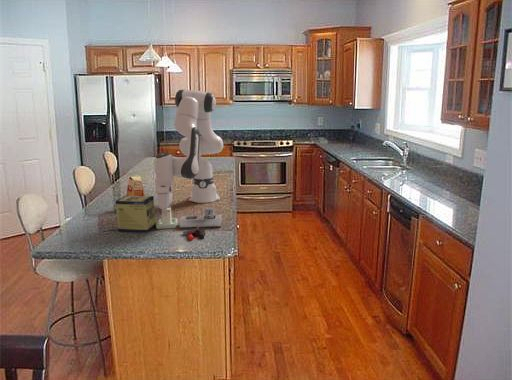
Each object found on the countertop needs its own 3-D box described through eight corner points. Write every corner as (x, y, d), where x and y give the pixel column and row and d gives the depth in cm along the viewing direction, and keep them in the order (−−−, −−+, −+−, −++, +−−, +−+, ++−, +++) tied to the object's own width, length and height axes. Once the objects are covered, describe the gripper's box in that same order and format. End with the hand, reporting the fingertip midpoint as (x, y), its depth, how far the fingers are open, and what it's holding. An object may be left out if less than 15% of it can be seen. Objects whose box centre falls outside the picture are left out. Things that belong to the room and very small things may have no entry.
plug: (163, 223, 221) (162, 207, 219) (172, 222, 221) (170, 207, 219) (162, 225, 217) (161, 210, 215) (170, 225, 217) (169, 209, 215)
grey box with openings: (181, 223, 222) (180, 207, 220) (221, 222, 222) (220, 205, 220) (178, 232, 208) (177, 214, 206) (220, 230, 209) (219, 213, 207)
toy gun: (182, 234, 206) (182, 224, 205) (207, 234, 205) (207, 224, 204) (176, 241, 197) (175, 230, 196) (202, 241, 195) (201, 231, 194)
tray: (160, 222, 224) (159, 218, 224) (177, 221, 224) (177, 218, 224) (156, 228, 214) (156, 224, 214) (175, 228, 215) (174, 224, 214)
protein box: (148, 232, 209) (145, 201, 205) (117, 231, 211) (114, 200, 208) (156, 226, 219) (154, 195, 215) (127, 225, 221) (124, 195, 218)
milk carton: (134, 210, 247) (131, 176, 243) (125, 208, 253) (122, 174, 249) (148, 207, 254) (145, 173, 249) (139, 204, 260) (136, 171, 255)
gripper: (161, 182, 224) (163, 208, 227) (154, 190, 205) (157, 219, 208) (174, 181, 225) (176, 207, 228) (168, 190, 205) (170, 218, 208)
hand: (167, 213), depth 217 cm, fingers open, 8 cm apart
